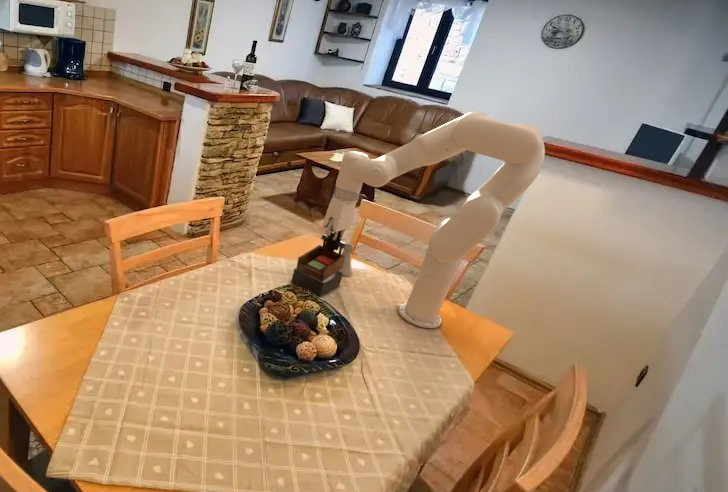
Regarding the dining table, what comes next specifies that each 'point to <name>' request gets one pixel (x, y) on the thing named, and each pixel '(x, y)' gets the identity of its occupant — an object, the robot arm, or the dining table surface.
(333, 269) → the basket
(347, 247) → the flask
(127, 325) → the dining table surface
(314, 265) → the block
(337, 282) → the stand
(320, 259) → the terracotta packet
